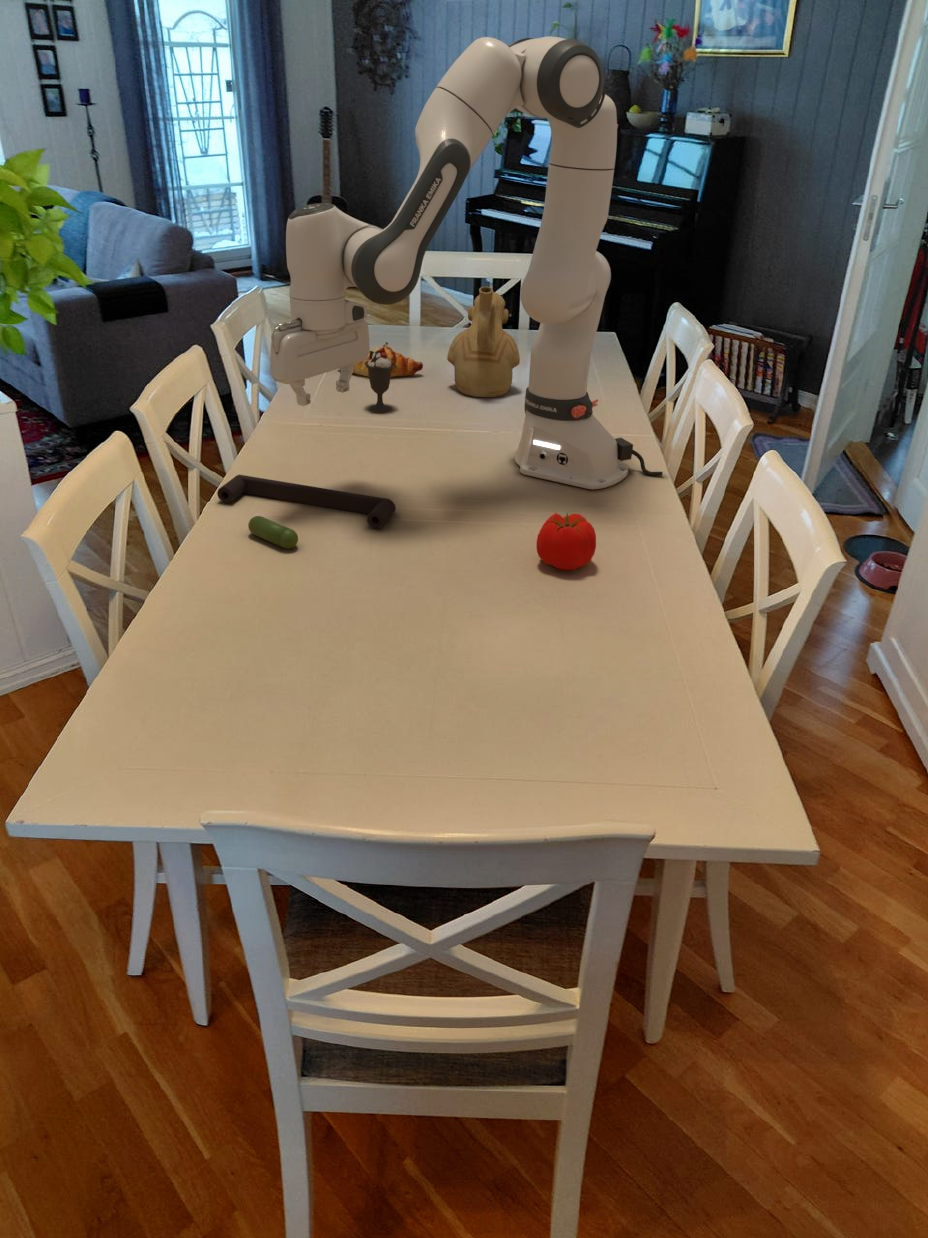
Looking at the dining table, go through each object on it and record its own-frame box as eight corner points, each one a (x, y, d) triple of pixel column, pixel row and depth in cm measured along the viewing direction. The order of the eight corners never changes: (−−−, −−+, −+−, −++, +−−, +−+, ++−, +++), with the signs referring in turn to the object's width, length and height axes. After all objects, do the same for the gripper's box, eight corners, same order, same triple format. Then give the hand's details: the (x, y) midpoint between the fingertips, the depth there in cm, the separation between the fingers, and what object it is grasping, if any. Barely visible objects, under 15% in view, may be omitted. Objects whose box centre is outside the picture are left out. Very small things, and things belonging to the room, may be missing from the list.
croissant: (336, 387, 229) (331, 363, 222) (341, 358, 234) (337, 333, 227) (422, 390, 228) (420, 366, 221) (425, 361, 233) (424, 336, 226)
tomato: (578, 547, 152) (583, 505, 148) (601, 573, 145) (607, 529, 141) (524, 553, 149) (528, 510, 146) (545, 579, 142) (550, 535, 138)
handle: (218, 501, 161) (216, 485, 160) (235, 488, 166) (233, 472, 165) (383, 530, 155) (383, 513, 153) (395, 515, 160) (396, 499, 158)
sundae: (394, 414, 204) (394, 345, 196) (363, 413, 204) (362, 343, 196) (396, 404, 209) (396, 337, 202) (366, 403, 209) (365, 335, 202)
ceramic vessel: (519, 380, 229) (527, 273, 216) (514, 405, 212) (523, 292, 199) (451, 375, 230) (454, 269, 217) (440, 400, 213) (444, 286, 200)
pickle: (302, 547, 148) (301, 529, 146) (288, 554, 146) (286, 535, 144) (259, 528, 153) (258, 510, 151) (244, 535, 151) (243, 517, 149)
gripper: (285, 328, 142) (292, 416, 149) (374, 305, 156) (377, 387, 163) (256, 322, 145) (265, 408, 152) (346, 300, 159) (350, 380, 166)
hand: (323, 397), depth 158 cm, fingers open, 8 cm apart
